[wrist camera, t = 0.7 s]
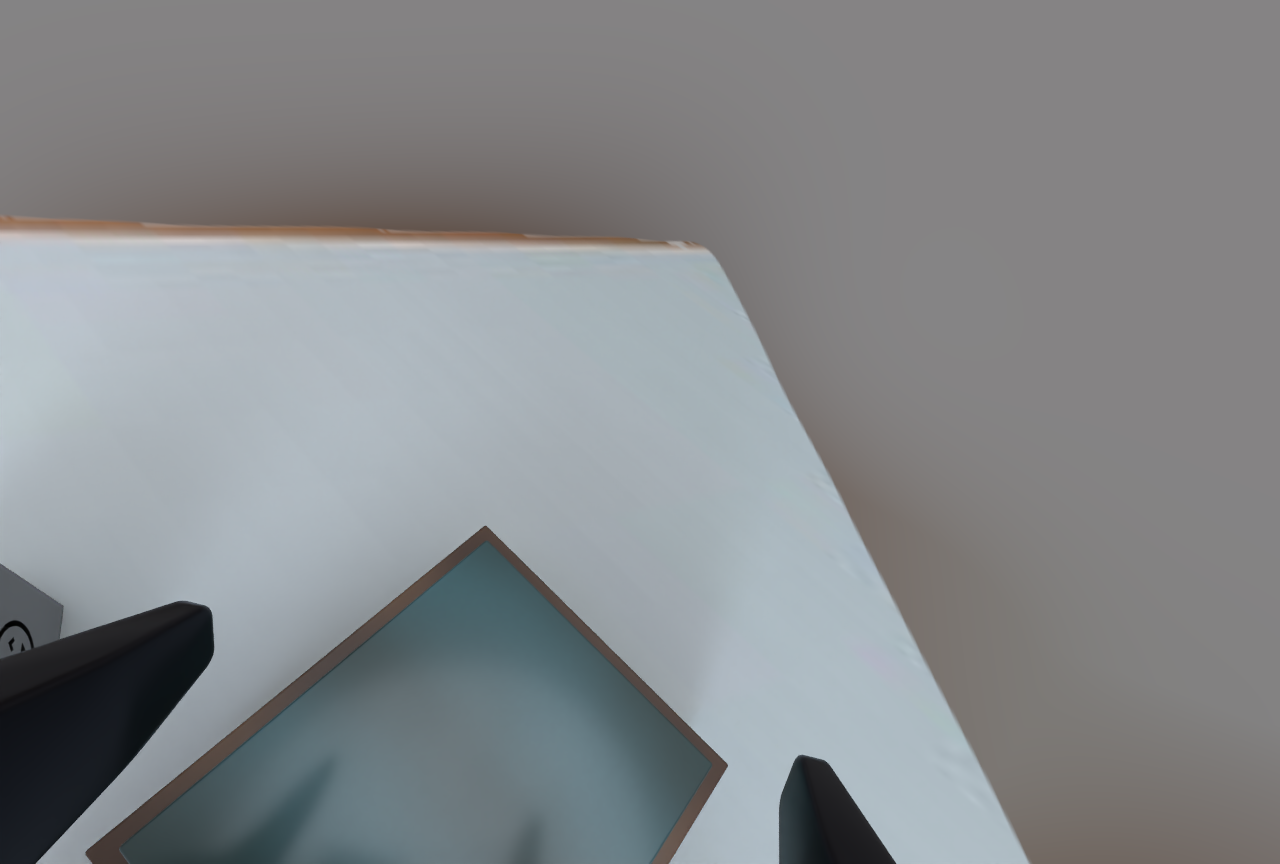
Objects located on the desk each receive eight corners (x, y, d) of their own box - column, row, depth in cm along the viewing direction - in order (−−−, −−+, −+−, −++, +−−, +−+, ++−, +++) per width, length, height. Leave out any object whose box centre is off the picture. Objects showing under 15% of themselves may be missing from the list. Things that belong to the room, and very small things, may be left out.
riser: (410, 1184, 17) (409, 1321, 12) (152, 849, 19) (63, 853, 14) (677, 776, 24) (742, 761, 20) (474, 571, 26) (488, 512, 22)
